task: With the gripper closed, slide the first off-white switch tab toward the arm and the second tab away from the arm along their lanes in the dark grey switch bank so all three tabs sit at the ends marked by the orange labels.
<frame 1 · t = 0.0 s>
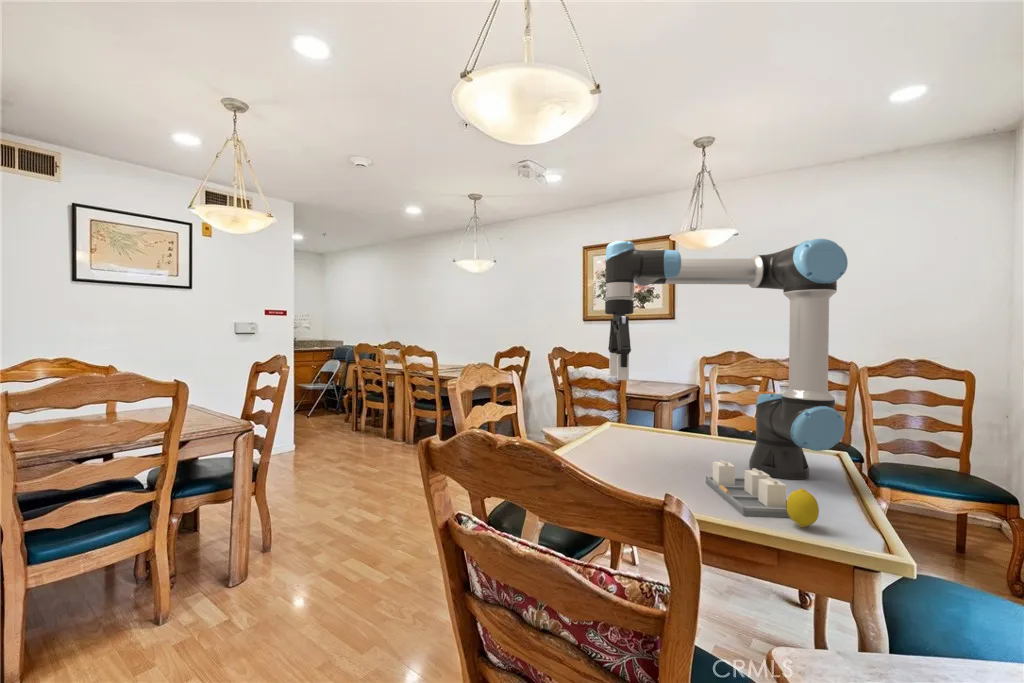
hand: (618, 377, 119), 28 cm above the table, tool pointing down, fingers open, 13 cm apart
lemon: (802, 528, 90), on the table
switch bank: (746, 498, 106), on the table
tab a: (723, 472, 114), point 4 cm above the table, slide at 5.0 cm
tab c: (772, 491, 99), point 4 cm above the table, slide at 0.0 cm
tab b: (756, 481, 106), point 4 cm above the table, slide at 0.0 cm
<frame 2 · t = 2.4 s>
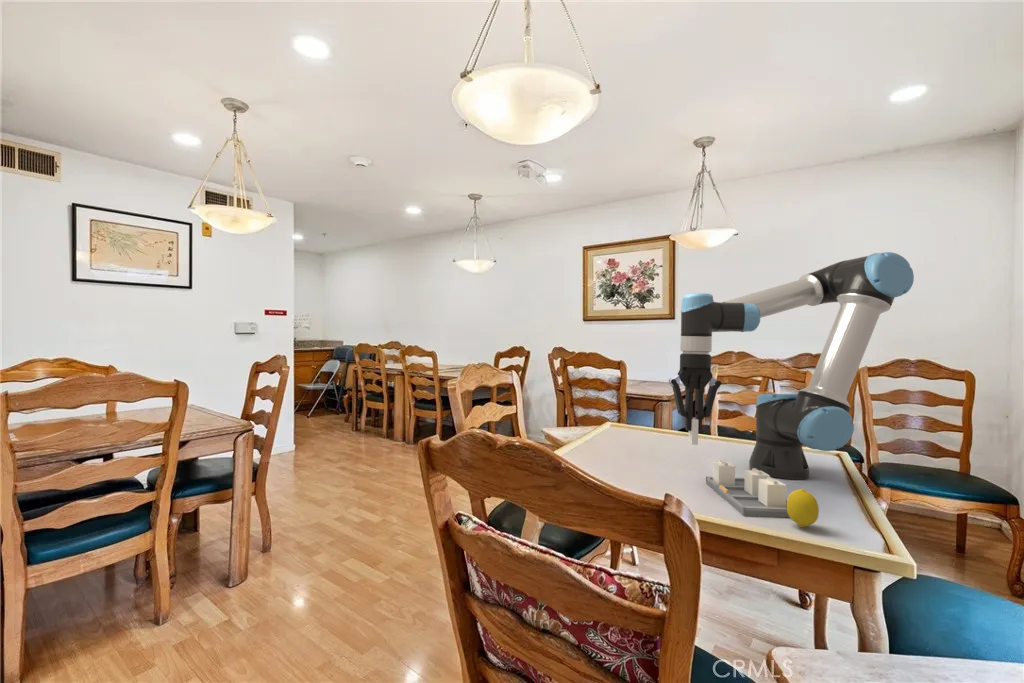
hand: (693, 443, 114), 12 cm above the table, tool pointing down, fingers closed
nothing on the table moved.
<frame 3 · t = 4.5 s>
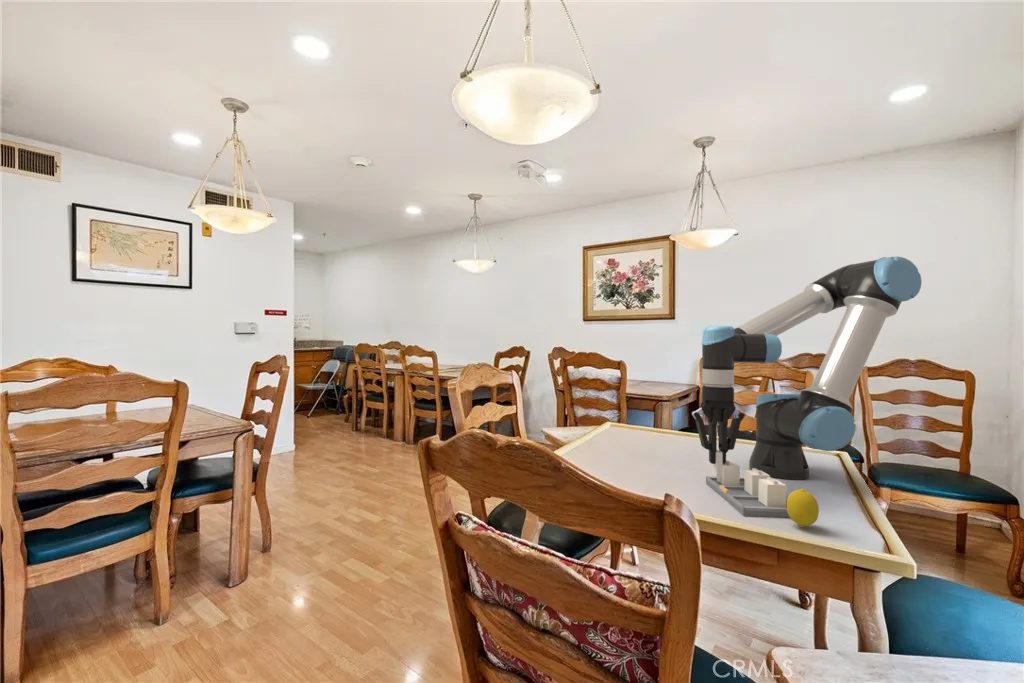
hand: (717, 476, 114), 3 cm above the table, tool pointing down, fingers closed
tab a: (728, 472, 113), point 4 cm above the table, slide at 3.8 cm, touching gripper
everything else where it was.
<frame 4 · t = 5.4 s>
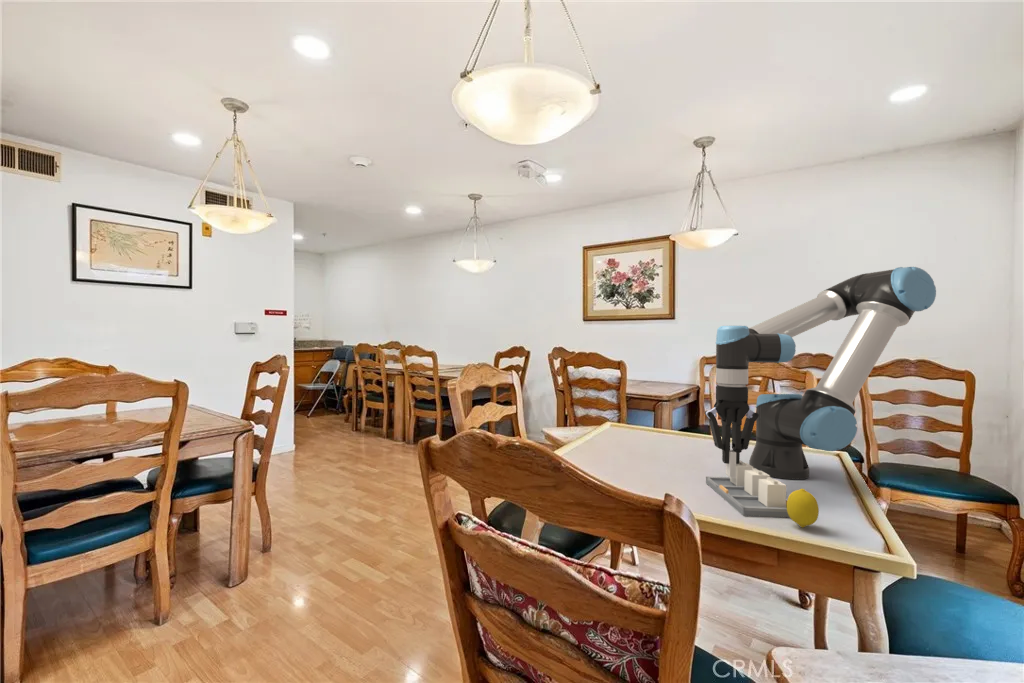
hand: (730, 475, 113), 3 cm above the table, tool pointing down, fingers closed
tab a: (741, 473, 113), point 4 cm above the table, slide at 0.5 cm, touching gripper
everything else where it was.
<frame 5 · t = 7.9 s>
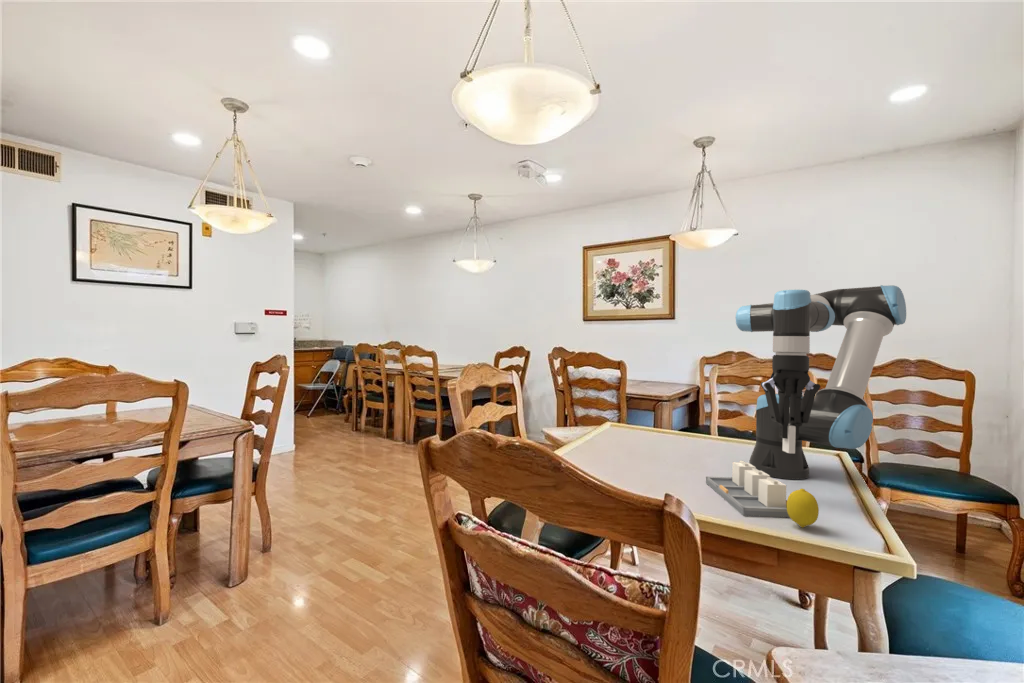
hand: (788, 451, 106), 12 cm above the table, tool pointing down, fingers closed
tab a: (743, 473, 113), point 4 cm above the table, slide at 0.0 cm
everything else where it was.
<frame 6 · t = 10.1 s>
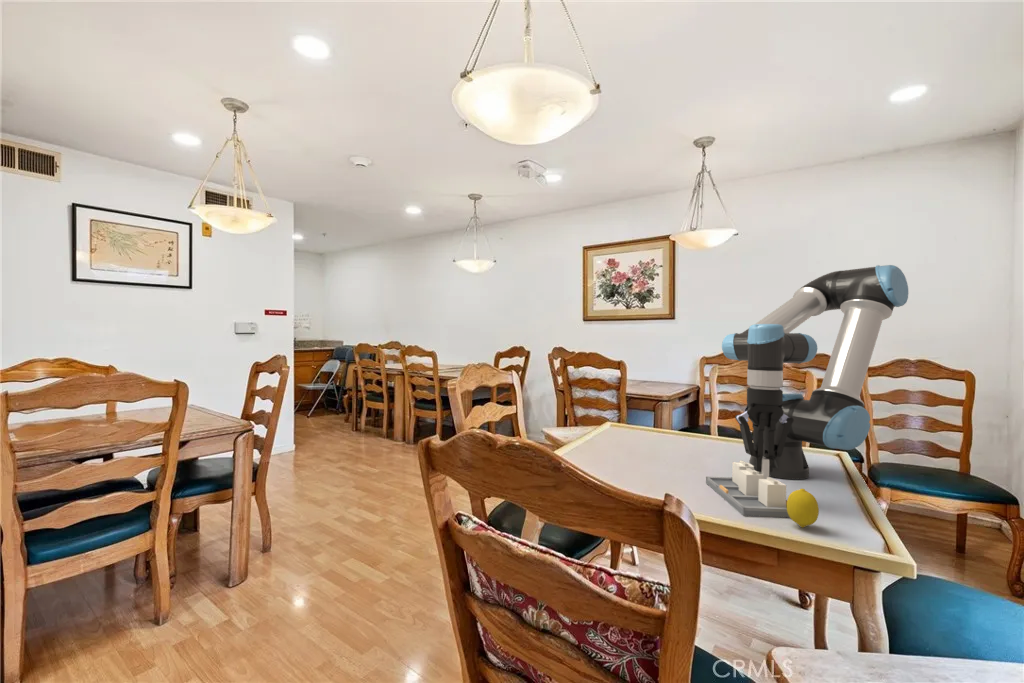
hand: (762, 484, 106), 4 cm above the table, tool pointing down, fingers closed
tab b: (750, 481, 106), point 4 cm above the table, slide at 1.4 cm, touching gripper
everything else where it was.
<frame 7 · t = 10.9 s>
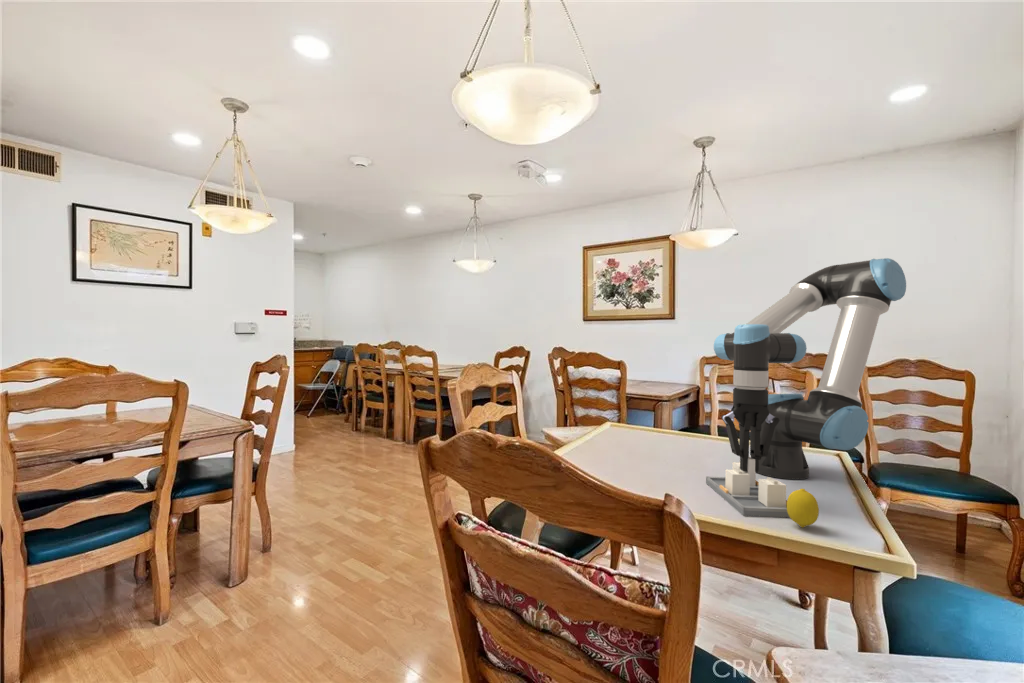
hand: (749, 484, 106), 3 cm above the table, tool pointing down, fingers closed
tab b: (737, 481, 107), point 4 cm above the table, slide at 4.6 cm, touching gripper
everything else where it was.
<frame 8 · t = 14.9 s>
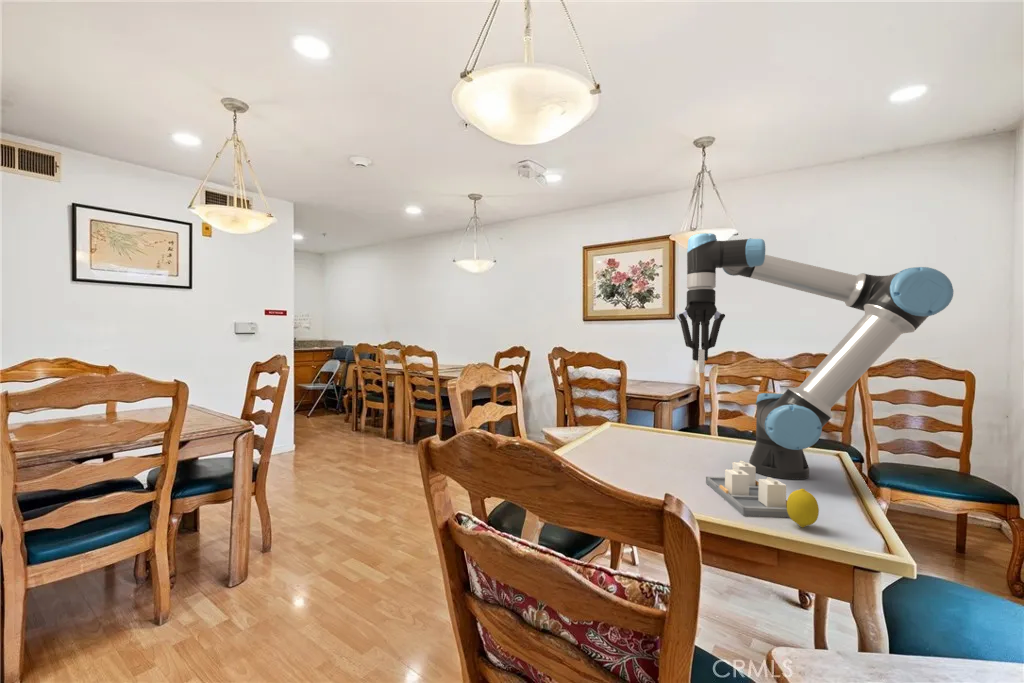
hand: (699, 372, 125), 29 cm above the table, tool pointing down, fingers closed
tab b: (736, 481, 107), point 4 cm above the table, slide at 4.7 cm
everything else where it was.
at the end: tab a slide at 0.0 cm; tab b slide at 4.7 cm; tab c slide at 0.0 cm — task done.
